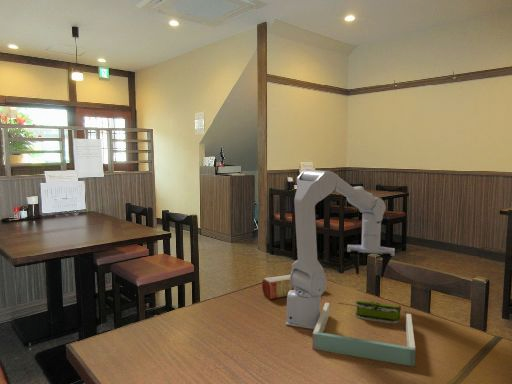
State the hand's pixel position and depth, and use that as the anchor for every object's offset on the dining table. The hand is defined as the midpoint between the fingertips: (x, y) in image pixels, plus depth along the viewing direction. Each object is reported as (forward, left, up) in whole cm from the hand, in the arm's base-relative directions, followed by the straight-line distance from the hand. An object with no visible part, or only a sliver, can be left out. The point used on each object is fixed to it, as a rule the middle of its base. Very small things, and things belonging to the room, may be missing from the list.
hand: (369, 274), depth 122 cm
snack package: (-25, -1, -9) cm, 27 cm away
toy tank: (0, -11, -9) cm, 15 cm away
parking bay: (0, -25, -9) cm, 27 cm away
